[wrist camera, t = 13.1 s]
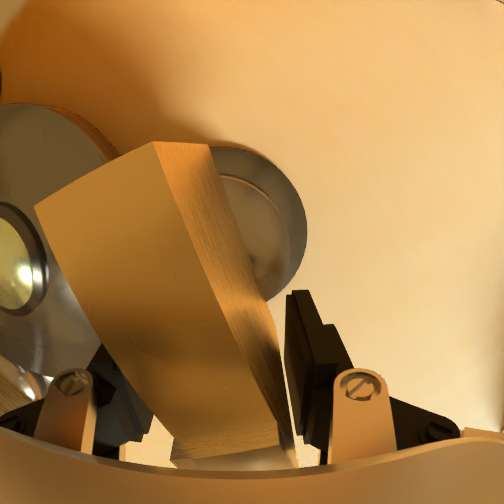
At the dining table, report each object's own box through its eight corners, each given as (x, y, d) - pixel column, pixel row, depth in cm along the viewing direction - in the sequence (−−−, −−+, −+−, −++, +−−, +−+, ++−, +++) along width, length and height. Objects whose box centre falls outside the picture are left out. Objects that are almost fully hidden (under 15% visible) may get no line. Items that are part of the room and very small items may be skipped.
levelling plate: (161, 463, 18) (154, 498, 15) (-69, 314, 14) (-90, 333, 11) (337, 200, 12) (368, 220, 9) (-37, 45, 8) (-72, 40, 5)
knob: (304, 293, 13) (366, 461, 5) (193, 327, 13) (156, 495, 6) (251, 131, 11) (270, 89, 3) (127, 180, 11) (-34, 250, 3)
